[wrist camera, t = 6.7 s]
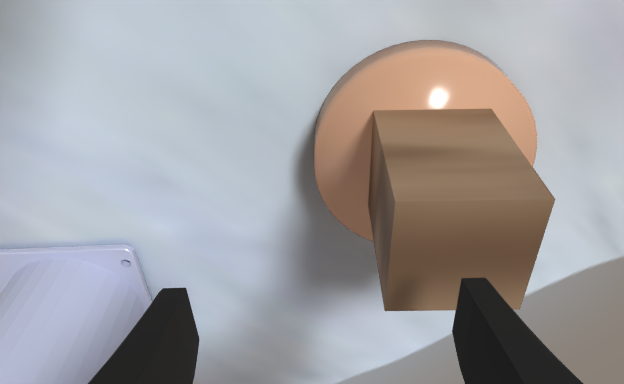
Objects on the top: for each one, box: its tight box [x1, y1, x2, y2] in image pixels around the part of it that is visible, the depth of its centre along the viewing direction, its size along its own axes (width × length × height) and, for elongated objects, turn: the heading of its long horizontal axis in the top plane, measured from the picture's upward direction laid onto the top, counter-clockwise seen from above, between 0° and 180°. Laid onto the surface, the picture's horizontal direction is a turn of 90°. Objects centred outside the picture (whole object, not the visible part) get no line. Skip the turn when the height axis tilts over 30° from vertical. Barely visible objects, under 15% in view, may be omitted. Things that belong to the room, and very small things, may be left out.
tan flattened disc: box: [314, 40, 537, 241], centre depth 21 cm, size 9×9×2 cm
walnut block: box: [368, 109, 555, 311], centre depth 18 cm, size 4×4×6 cm
